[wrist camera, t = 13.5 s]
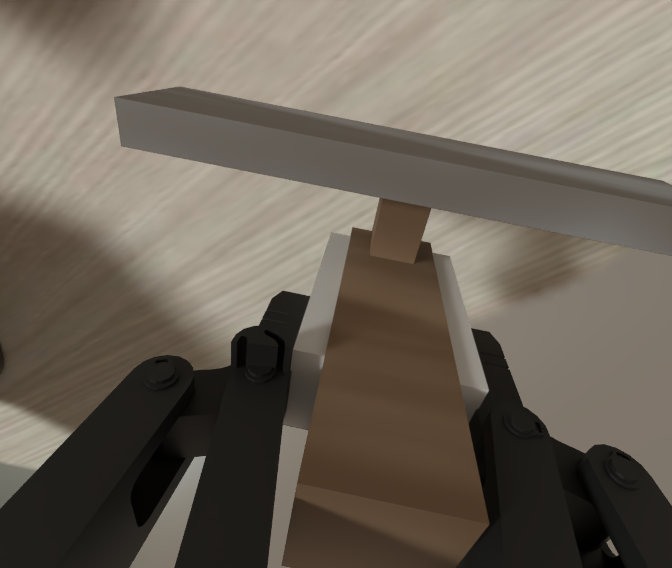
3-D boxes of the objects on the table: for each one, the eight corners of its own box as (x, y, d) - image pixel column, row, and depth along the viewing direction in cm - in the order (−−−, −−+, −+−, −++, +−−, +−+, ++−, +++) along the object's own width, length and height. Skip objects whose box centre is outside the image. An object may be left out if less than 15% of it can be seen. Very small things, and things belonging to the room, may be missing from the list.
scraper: (561, 337, 16) (763, 671, 7) (190, 261, 16) (-35, 496, 7) (662, 180, 12) (1304, 480, 4) (180, 86, 12) (-275, 159, 4)
